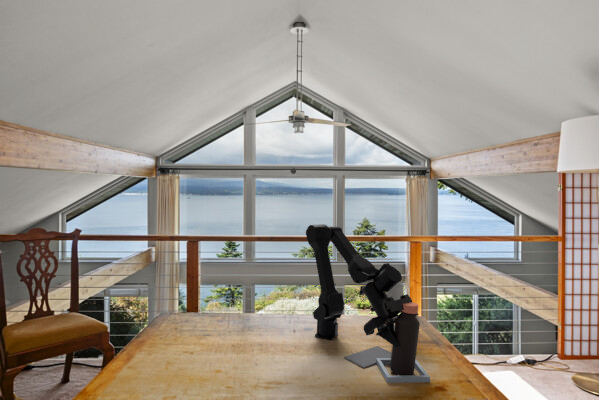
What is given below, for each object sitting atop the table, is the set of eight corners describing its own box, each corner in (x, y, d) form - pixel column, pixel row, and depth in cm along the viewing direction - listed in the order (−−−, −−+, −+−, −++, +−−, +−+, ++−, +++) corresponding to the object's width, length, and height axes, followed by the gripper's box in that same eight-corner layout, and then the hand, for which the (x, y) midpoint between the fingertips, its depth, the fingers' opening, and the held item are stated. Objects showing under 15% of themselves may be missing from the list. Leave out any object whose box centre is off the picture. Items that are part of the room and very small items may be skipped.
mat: (344, 357, 130) (344, 356, 130) (377, 347, 139) (377, 345, 139) (363, 368, 124) (363, 367, 124) (397, 356, 133) (397, 355, 133)
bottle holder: (387, 382, 116) (387, 377, 115) (375, 363, 127) (376, 358, 127) (429, 382, 116) (430, 377, 116) (414, 362, 128) (414, 358, 128)
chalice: (402, 338, 148) (405, 287, 147) (382, 336, 149) (385, 285, 148) (401, 330, 155) (404, 282, 154) (383, 328, 156) (385, 280, 155)
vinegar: (395, 363, 127) (402, 298, 126) (417, 371, 123) (425, 304, 122) (386, 371, 121) (393, 302, 120) (408, 379, 117) (417, 309, 116)
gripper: (372, 290, 118) (402, 342, 110) (414, 281, 129) (444, 328, 121) (351, 310, 125) (378, 360, 116) (393, 300, 136) (420, 345, 128)
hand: (406, 348), depth 120 cm, fingers closed on vinegar, 4 cm apart
